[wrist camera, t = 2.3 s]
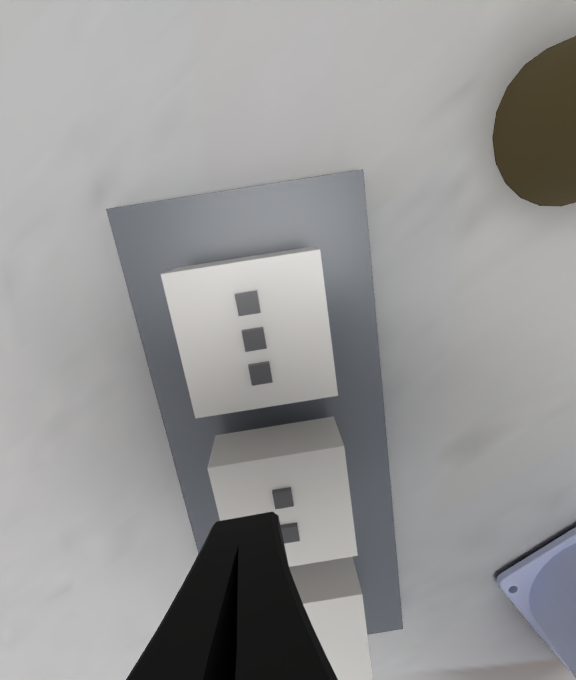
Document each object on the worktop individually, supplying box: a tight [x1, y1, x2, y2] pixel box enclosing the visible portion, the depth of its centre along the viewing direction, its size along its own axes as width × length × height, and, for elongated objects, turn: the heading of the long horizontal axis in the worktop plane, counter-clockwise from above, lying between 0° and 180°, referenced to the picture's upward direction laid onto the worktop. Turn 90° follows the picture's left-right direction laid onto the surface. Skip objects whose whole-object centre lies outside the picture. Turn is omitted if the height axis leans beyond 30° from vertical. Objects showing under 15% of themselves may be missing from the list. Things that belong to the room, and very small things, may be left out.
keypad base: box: [106, 169, 403, 635], centre depth 18 cm, size 24×10×2 cm, turn 9°
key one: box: [289, 557, 373, 680], centre depth 17 cm, size 5×5×2 cm
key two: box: [207, 416, 358, 567], centre depth 15 cm, size 5×5×2 cm
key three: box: [161, 247, 338, 419], centre depth 13 cm, size 5×5×2 cm
